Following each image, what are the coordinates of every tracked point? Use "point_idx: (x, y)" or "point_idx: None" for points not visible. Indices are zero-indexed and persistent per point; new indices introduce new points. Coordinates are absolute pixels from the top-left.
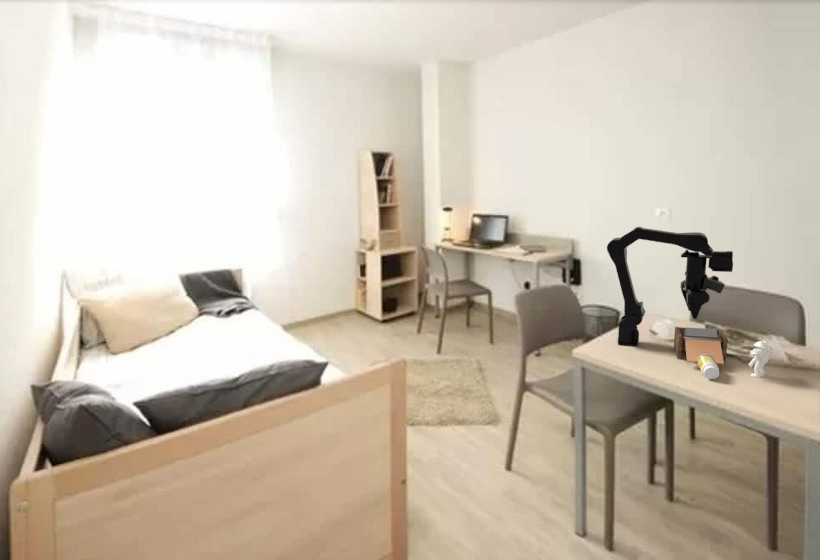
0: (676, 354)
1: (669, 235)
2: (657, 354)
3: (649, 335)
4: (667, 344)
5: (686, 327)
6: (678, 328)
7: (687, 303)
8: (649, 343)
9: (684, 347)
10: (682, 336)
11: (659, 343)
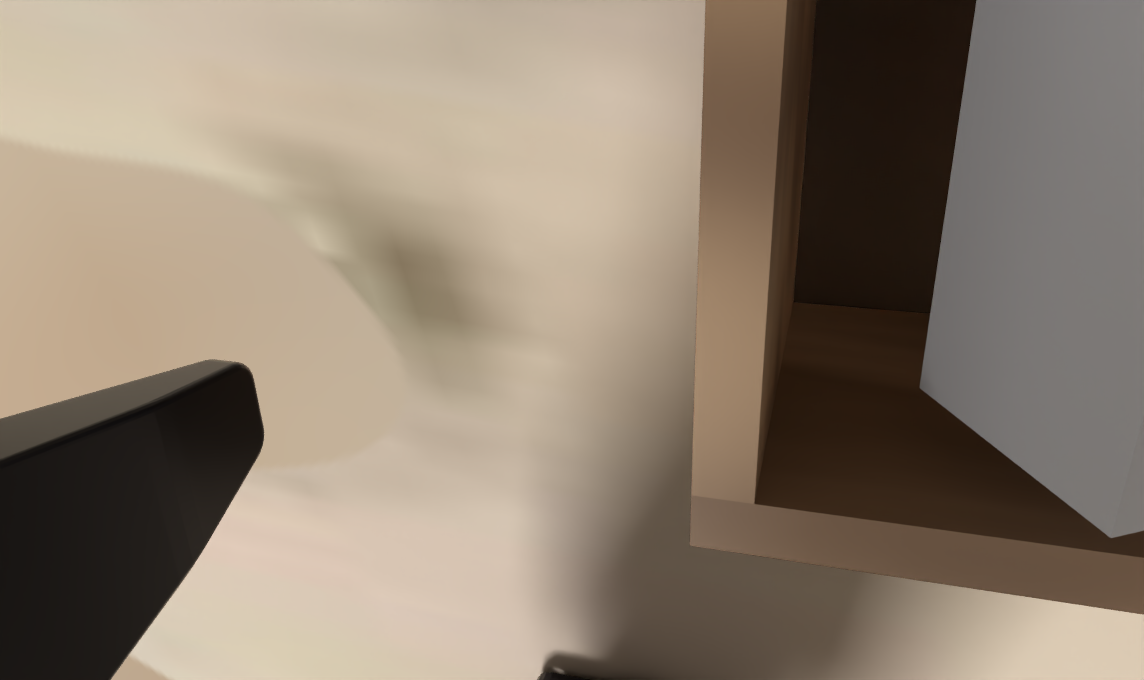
0: None
1: None
2: None
3: (316, 500)
4: (595, 377)
5: (1117, 521)
6: (789, 514)
7: (97, 650)
8: (610, 564)
9: (796, 222)
10: (778, 342)
11: (580, 460)
